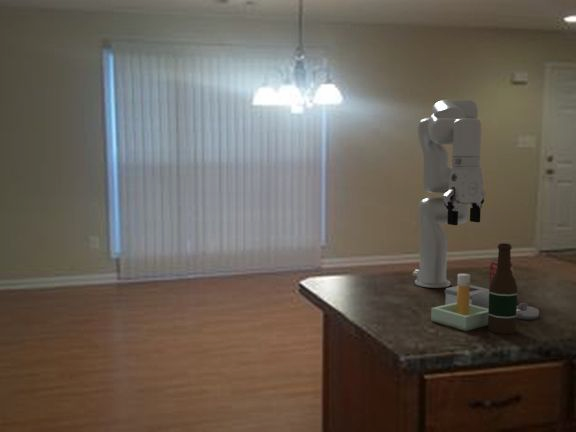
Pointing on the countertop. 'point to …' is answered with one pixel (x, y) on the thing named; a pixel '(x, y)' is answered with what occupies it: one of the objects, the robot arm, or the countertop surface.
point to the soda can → (494, 267)
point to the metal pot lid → (526, 312)
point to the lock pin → (463, 294)
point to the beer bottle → (502, 295)
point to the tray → (460, 316)
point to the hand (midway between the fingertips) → (463, 223)
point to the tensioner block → (476, 296)
